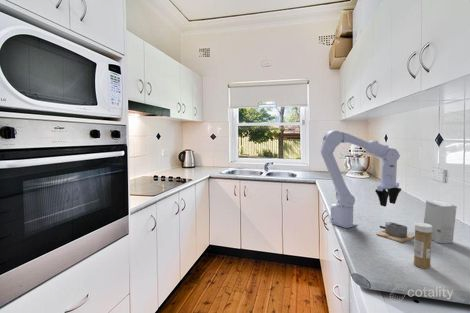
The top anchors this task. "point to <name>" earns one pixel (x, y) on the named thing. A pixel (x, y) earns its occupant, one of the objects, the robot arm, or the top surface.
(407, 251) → the top surface
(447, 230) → the skincare box
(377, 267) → the top surface
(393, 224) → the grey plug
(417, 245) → the sprinkles bottle
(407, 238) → the cork coaster
